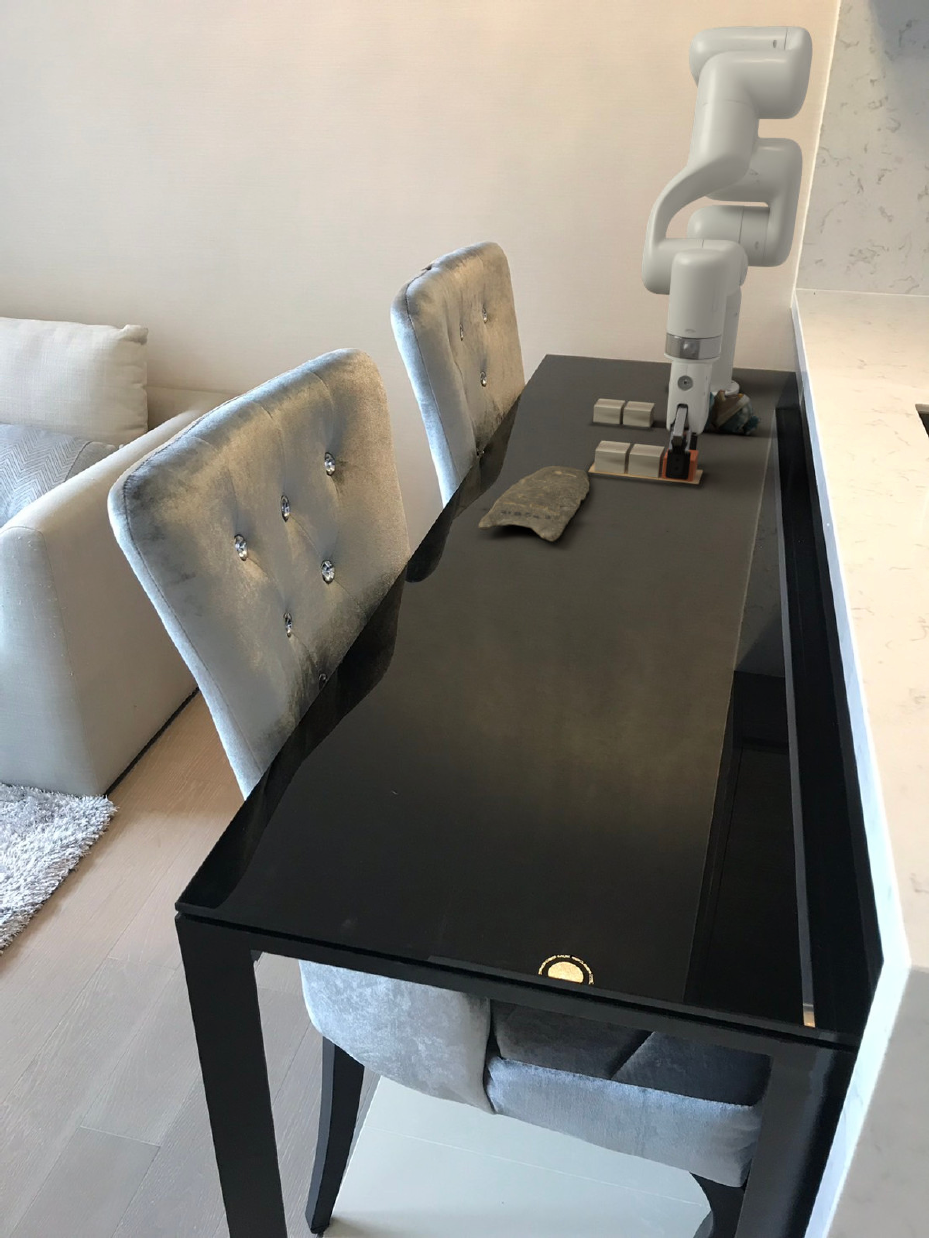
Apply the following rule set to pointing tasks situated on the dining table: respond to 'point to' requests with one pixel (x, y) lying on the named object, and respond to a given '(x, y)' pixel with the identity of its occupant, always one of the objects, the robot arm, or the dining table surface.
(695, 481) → the board
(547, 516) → the stone tool
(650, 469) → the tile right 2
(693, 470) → the orange block
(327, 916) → the dining table surface
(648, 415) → the pale grey block
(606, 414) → the beige grey short block
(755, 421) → the blue brown rough lump
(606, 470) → the pale grey block
